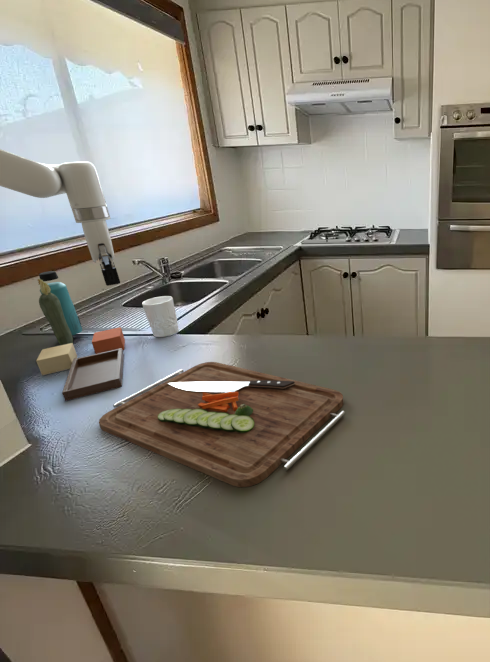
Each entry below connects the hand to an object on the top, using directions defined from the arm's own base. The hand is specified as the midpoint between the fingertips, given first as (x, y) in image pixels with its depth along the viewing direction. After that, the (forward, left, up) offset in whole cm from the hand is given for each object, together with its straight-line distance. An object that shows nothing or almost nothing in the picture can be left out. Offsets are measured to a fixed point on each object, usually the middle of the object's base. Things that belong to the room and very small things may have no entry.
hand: (112, 280), depth 112 cm
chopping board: (+16, -53, -18) cm, 59 cm away
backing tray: (-7, -19, -18) cm, 27 cm away
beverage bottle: (-16, +16, -18) cm, 29 cm away
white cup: (+9, +1, -18) cm, 20 cm away
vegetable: (-16, +6, -18) cm, 25 cm away
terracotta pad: (-5, -1, -18) cm, 18 cm away
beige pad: (-16, -6, -18) cm, 25 cm away
